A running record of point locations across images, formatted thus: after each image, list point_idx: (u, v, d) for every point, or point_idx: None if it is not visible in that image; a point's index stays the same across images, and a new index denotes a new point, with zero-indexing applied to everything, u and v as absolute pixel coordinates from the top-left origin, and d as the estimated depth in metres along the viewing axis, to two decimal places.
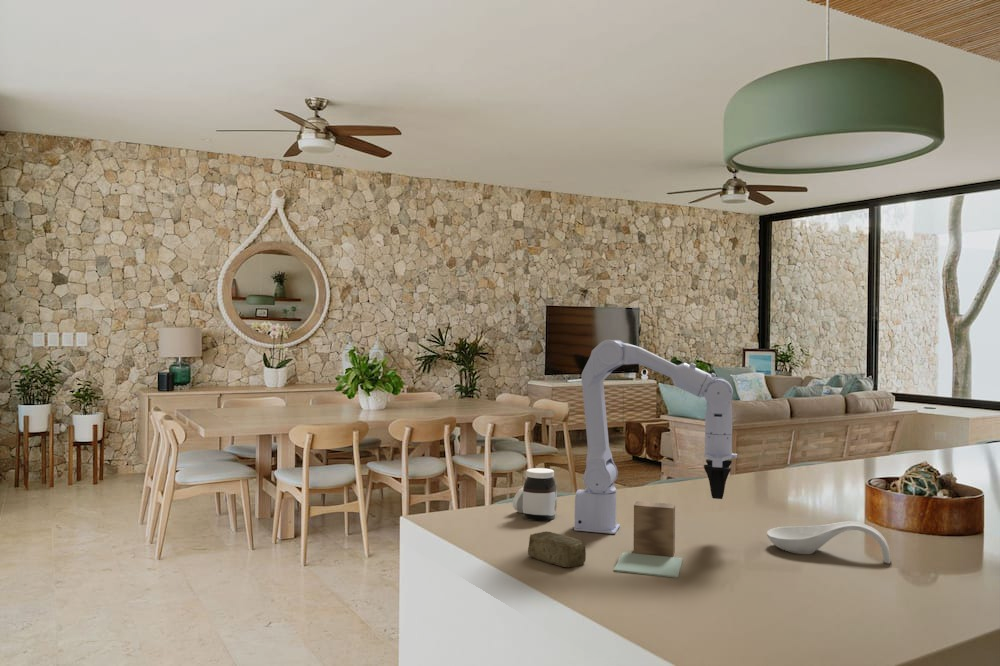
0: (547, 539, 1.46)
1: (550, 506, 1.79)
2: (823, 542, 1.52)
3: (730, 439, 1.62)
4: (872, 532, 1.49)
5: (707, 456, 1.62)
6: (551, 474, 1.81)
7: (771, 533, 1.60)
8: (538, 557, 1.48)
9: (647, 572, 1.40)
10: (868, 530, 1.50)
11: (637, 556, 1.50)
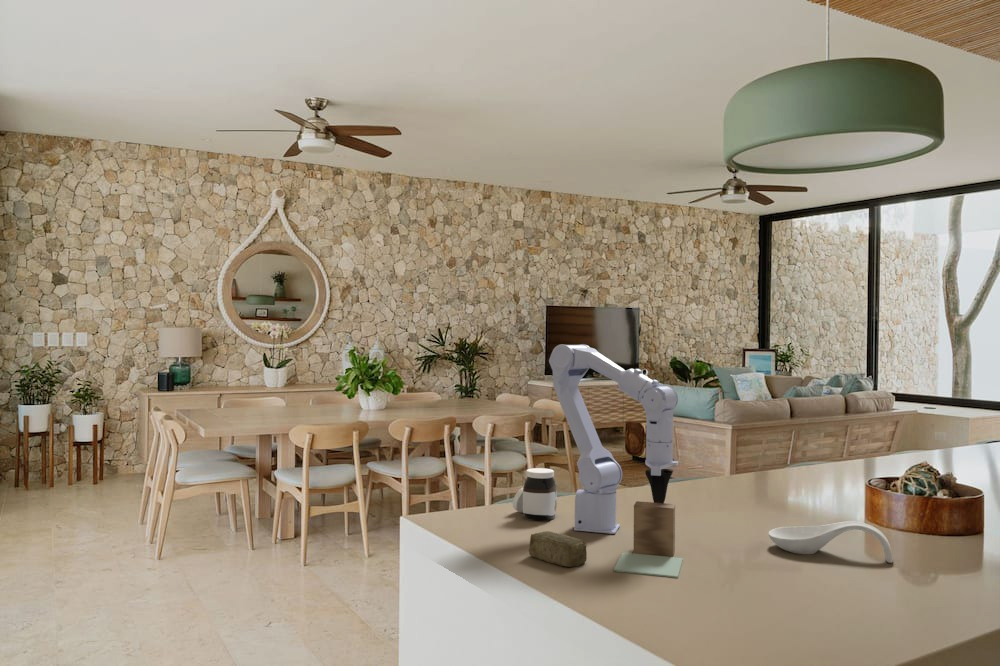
0: (548, 539, 1.47)
1: (550, 506, 1.79)
2: (825, 542, 1.52)
3: (670, 447, 1.60)
4: (874, 531, 1.49)
5: (647, 464, 1.60)
6: (551, 474, 1.81)
7: (773, 533, 1.60)
8: (539, 557, 1.48)
9: (647, 572, 1.40)
10: (870, 530, 1.50)
11: (637, 556, 1.50)
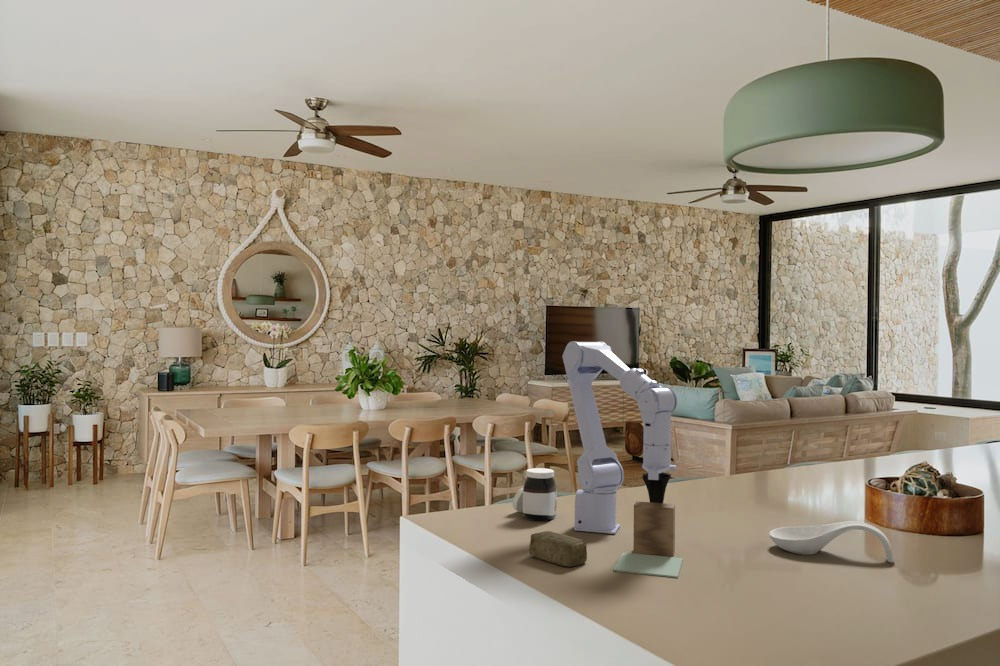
0: (548, 539, 1.47)
1: (550, 506, 1.79)
2: (826, 542, 1.52)
3: (668, 450, 1.55)
4: (875, 531, 1.50)
5: (644, 468, 1.55)
6: (551, 474, 1.81)
7: (773, 534, 1.60)
8: (539, 557, 1.48)
9: (647, 572, 1.40)
10: (871, 529, 1.50)
11: (637, 556, 1.50)
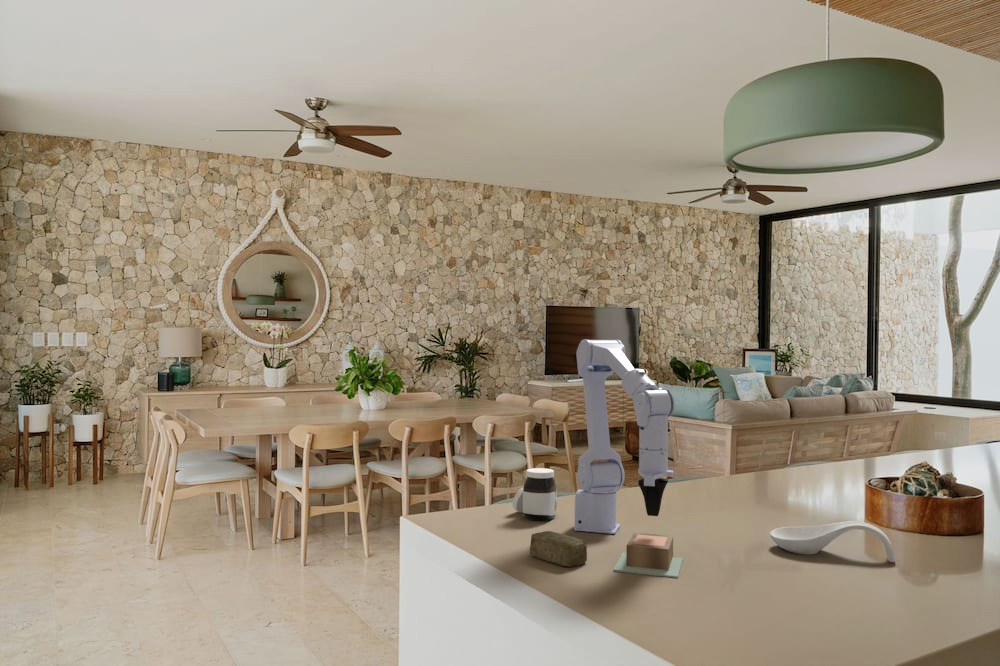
0: (548, 538, 1.47)
1: (550, 506, 1.79)
2: (827, 542, 1.52)
3: (665, 455, 1.49)
4: (876, 531, 1.50)
5: (640, 473, 1.49)
6: (551, 474, 1.81)
7: (774, 534, 1.60)
8: (539, 556, 1.48)
9: (647, 572, 1.40)
10: (872, 529, 1.50)
11: None
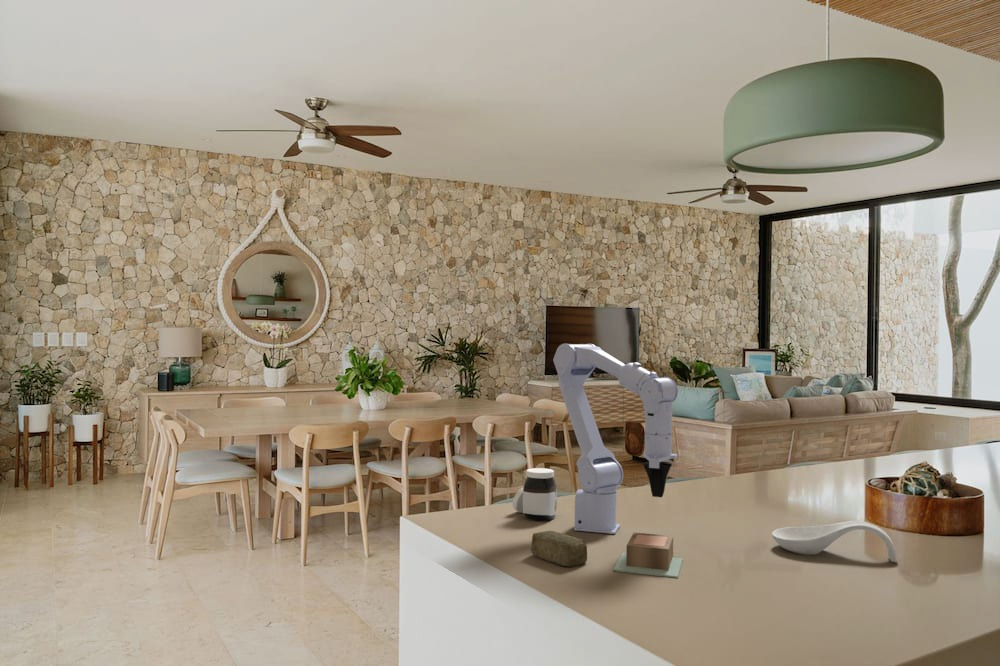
0: (549, 538, 1.47)
1: (550, 506, 1.79)
2: (830, 542, 1.52)
3: (669, 439, 1.58)
4: (878, 531, 1.50)
5: (646, 457, 1.58)
6: (551, 474, 1.81)
7: (776, 534, 1.59)
8: (540, 556, 1.49)
9: (647, 572, 1.40)
10: (874, 529, 1.50)
11: None
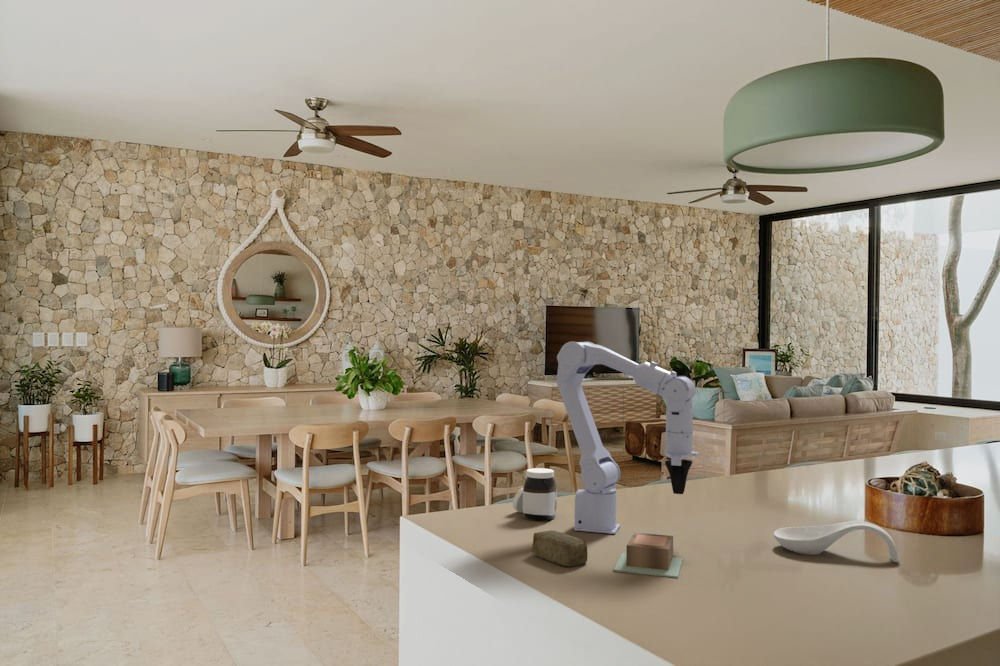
0: (549, 538, 1.47)
1: (550, 506, 1.79)
2: (831, 542, 1.52)
3: (690, 437, 1.61)
4: (880, 531, 1.50)
5: (667, 454, 1.61)
6: (551, 474, 1.81)
7: (777, 534, 1.59)
8: (541, 555, 1.49)
9: (647, 572, 1.40)
10: (876, 529, 1.50)
11: None
